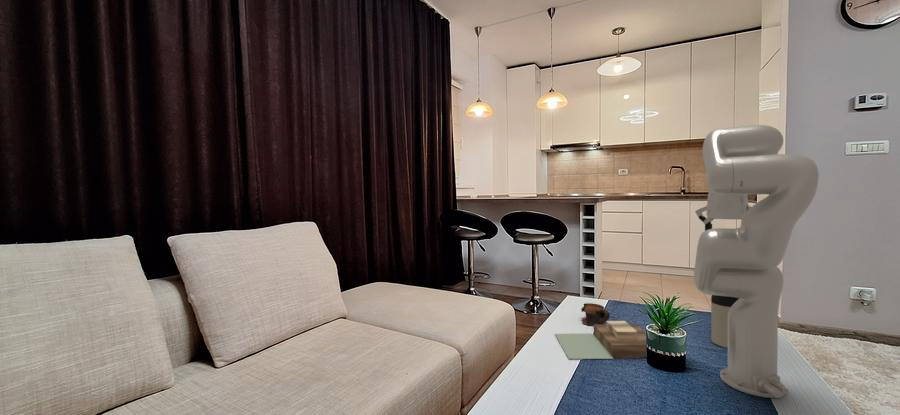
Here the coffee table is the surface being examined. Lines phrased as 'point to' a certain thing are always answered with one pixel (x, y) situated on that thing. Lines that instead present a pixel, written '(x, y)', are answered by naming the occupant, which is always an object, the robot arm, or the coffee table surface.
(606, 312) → the pottery mug
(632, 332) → the maple tile
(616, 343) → the walnut board
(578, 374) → the coffee table surface
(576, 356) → the rubber mat
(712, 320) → the beige canister
